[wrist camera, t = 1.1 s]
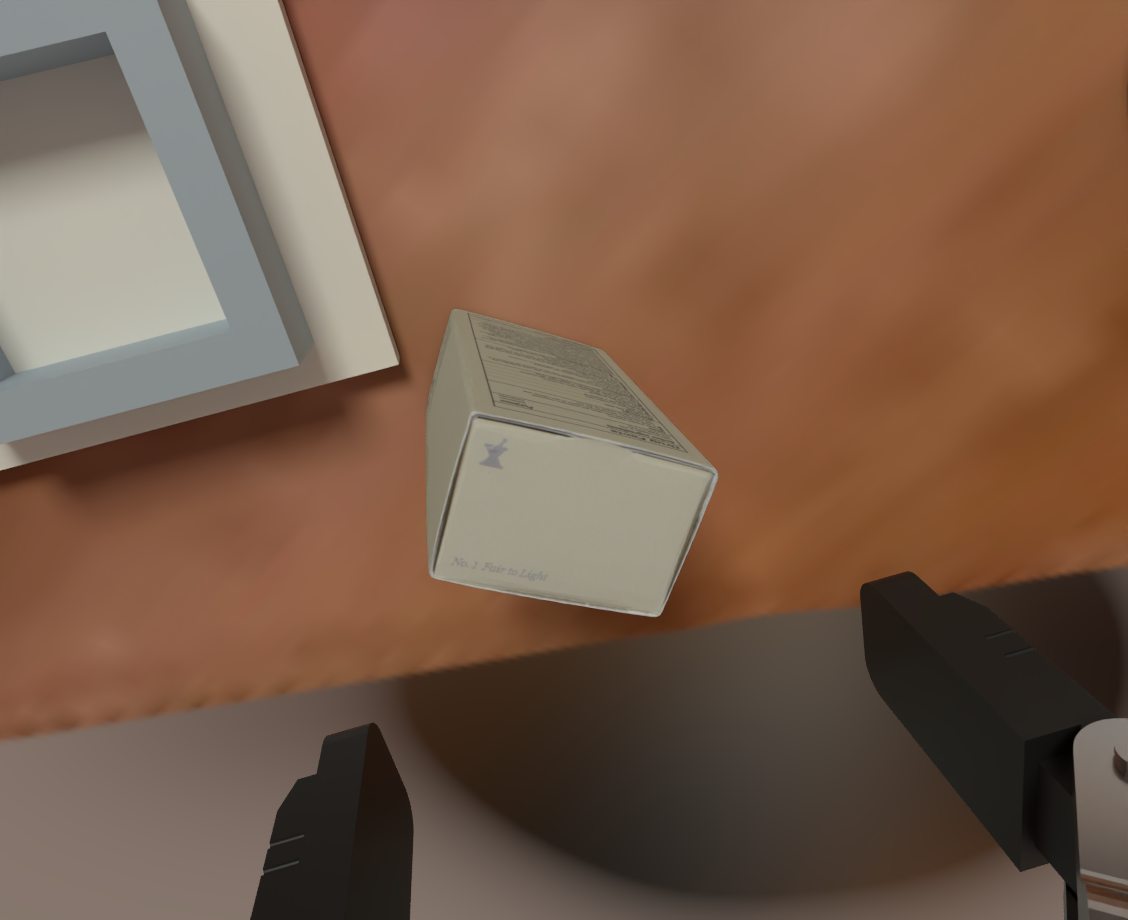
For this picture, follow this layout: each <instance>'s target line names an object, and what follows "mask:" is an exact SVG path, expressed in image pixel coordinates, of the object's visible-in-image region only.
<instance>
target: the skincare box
mask: <svg viewBox="0 0 1128 920" xmlns="http://www.w3.org/2000/svg"><path fill="white" fill-rule="evenodd" d="M425 416H426V510H427V546H428V571H429V574H430V576H431V577H432V578H435V579H438V580H443V581H447V582H452V583H456V584H462V585H466V586H470V587H475V588H480V589H486V590H491V591H496V592H501V593H508V594H514V595H519V596H524V597H529V598H535V599H540V600H549V601H555V602H560V603H564V604H572V605H578V606H584V607H590V608H595V609H603V610H610V611H615V612H621V613H628V614H634V615H641V616H649V617H658V616H659V615H660V614H661V613H662V611H663V609H664V607H665V604H666V602H667V600H668V597H669V595H670V593H671V590H672V588H673V586H674V584H675V581H676V579H677V577H678V574H679V572H680V570H681V567H682V565H683V563H684V560H685V558H686V556H687V554H688V551H689V549H690V546H691V544H692V541H693V539H694V537H695V534H696V532H697V530H698V527H699V525H700V523H701V520H702V518H703V515H704V512H705V510H706V507H707V505H708V502H709V500H710V498H711V495H712V493H713V490H714V488H715V485H716V483H717V480H718V472H717V471H716V469H715V468H714V467H713V466H712V464H711V463H710V462H709V461H708V460H707V459H706V458H705V457H704V456H703V455H702V454H701V453H700V452H699V451H698V450H697V449H696V448H695V447H694V445H693V444H692V443H691V442H690V441H689V440H688V439H687V438H686V437H685V436H684V435H683V434H682V433H681V432H680V431H679V430H678V429H677V428H676V427H675V426H674V425H673V423H672V422H671V421H670V420H669V419H668V418H667V417H666V416H665V415H664V414H663V413H662V412H661V411H660V410H659V409H658V408H657V407H656V406H655V405H654V403H653V402H652V401H651V400H650V399H649V398H648V397H647V396H646V395H645V394H644V393H643V392H642V391H641V390H640V389H639V388H638V387H637V386H636V384H635V383H634V382H633V381H632V380H631V379H630V378H629V377H628V376H627V375H626V374H625V373H624V372H623V371H622V370H621V369H620V368H619V366H618V365H617V364H616V363H615V362H614V361H613V360H612V359H611V358H610V357H609V356H608V355H607V354H606V353H605V351H603V350H601V349H598V348H595V347H592V346H589V345H585V344H582V343H579V342H576V341H572V340H569V339H566V338H562V337H559V336H556V335H552V334H549V333H545V332H542V331H539V330H535V329H531V328H528V327H524V326H520V325H517V324H514V323H510V322H506V321H502V320H499V319H495V318H492V317H488V316H484V315H480V314H476V313H472V312H468V311H464V310H460V309H453V310H452V311H451V314H450V317H449V321H448V324H447V328H446V331H445V335H444V338H443V342H442V346H441V349H440V353H439V357H438V361H437V365H436V368H435V372H434V376H433V380H432V384H431V389H430V393H429V398H428V402H427V407H426V412H425Z"/></svg>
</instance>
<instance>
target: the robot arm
mask: <svg viewBox="0 0 1128 920" xmlns="http://www.w3.org/2000/svg"><path fill="white" fill-rule="evenodd" d="M860 600H861V612H862V625H863V637H864V649H865V660H866V665H867V669H868V672H869V674H870V677H871V680H872V682H873V684H874V686H875V688H876V690H877V692H878V693H879V695H880V696H881V698H882V699H883V700H884V701H885V703H886V704H887V705H888V706H889V708H890V709H891V710H892V711H893V713H894V714H895V715H896V716H897V718H898V719H899V720H900V721H901V723H902V724H903V725H904V727H905V728H906V729H907V730H908V731H909V733H910V734H911V735H912V737H913V738H914V739H915V740H916V742H917V743H918V744H919V745H920V747H921V748H922V749H923V750H924V752H925V753H926V754H927V755H928V757H929V758H930V759H931V760H932V762H933V763H934V764H935V765H936V766H937V768H938V769H939V770H940V772H941V773H942V774H943V775H944V777H945V778H946V779H947V780H948V782H949V783H950V784H951V785H952V787H953V788H954V789H955V790H956V792H957V793H958V794H959V796H960V797H961V798H962V799H963V801H964V802H965V803H966V804H967V805H968V807H969V808H970V809H971V811H972V812H973V813H974V814H975V816H976V817H977V818H978V819H979V821H980V822H981V823H982V824H983V825H984V827H985V828H986V829H987V831H988V832H989V833H990V834H991V836H992V837H993V838H994V839H995V840H996V842H997V843H998V844H999V846H1000V847H1001V848H1002V849H1003V850H1004V852H1005V853H1006V854H1007V856H1008V857H1009V858H1010V859H1011V861H1012V862H1013V863H1014V865H1015V866H1016V867H1017V868H1018V870H1019V871H1020V872H1022V871H1025V870H1028V869H1031V868H1035V867H1037V866H1041V865H1044V864H1048V863H1050V864H1051V865H1052V866H1053V868H1054V869H1055V870H1056V871H1057V872H1058V874H1059V875H1060V876H1061V877H1062V878H1063V879H1064V893H1063V900H1064V920H1128V719H1126V718H1120V719H1119V718H1118V717H1116V716H1115V715H1114V714H1113V713H1112V712H1110V711H1109V710H1108V709H1107V708H1106V707H1104V706H1103V705H1102V704H1101V703H1100V702H1098V701H1097V700H1096V699H1095V698H1094V697H1093V696H1092V695H1090V694H1089V693H1088V692H1087V691H1086V690H1084V689H1083V688H1082V687H1081V686H1079V684H1077V683H1076V682H1075V681H1074V680H1073V679H1071V678H1070V677H1069V676H1068V675H1067V674H1066V673H1064V672H1063V671H1062V670H1061V669H1059V668H1058V667H1057V666H1056V665H1055V664H1054V663H1052V662H1051V661H1050V660H1049V659H1048V658H1047V657H1045V656H1044V655H1043V654H1042V653H1041V652H1039V651H1038V650H1037V651H1035V650H1034V649H1033V646H1032V645H1031V644H1030V643H1029V642H1028V641H1026V640H1025V639H1024V638H1023V637H1022V636H1020V635H1019V634H1018V633H1014V632H1013V631H1012V628H1011V627H1010V626H1008V625H1007V624H1006V623H1005V622H1004V621H1003V620H1002V619H1000V618H999V617H998V616H997V615H996V614H994V613H993V612H992V611H991V610H990V609H989V608H987V607H985V606H983V605H981V604H978V603H976V602H974V601H972V600H969V599H967V598H965V597H962V596H960V595H958V594H955V593H949V594H946V595H942V596H939V595H938V594H937V593H935V592H934V591H933V590H932V589H931V588H930V587H929V586H928V585H927V584H925V583H924V582H923V581H922V580H921V579H920V578H919V577H918V576H917V575H915V574H914V573H912V572H909V571H907V572H903V573H899V574H896V575H892V576H889V577H885V578H882V579H879V580H875V581H872V582H868V583H865V584H863V585H862V587H861V590H860ZM412 855H413V818H412V811H411V806H410V801H409V798H408V794H407V792H406V789H405V786H404V784H403V782H402V780H401V777H400V775H399V773H398V770H397V768H396V766H395V763H394V761H393V759H392V756H391V754H390V752H389V750H388V747H387V745H386V743H385V740H384V738H383V736H382V733H381V731H380V729H379V728H378V726H377V725H376V724H375V723H370V724H366V725H363V726H359V727H355V728H352V729H349V730H345V731H342V732H338V733H335V734H331V735H328V736H326V737H325V739H324V741H323V745H322V750H321V755H320V760H319V765H318V770H317V774H315V775H312V776H308V777H305V778H301V779H298V780H297V782H296V783H295V785H294V786H293V788H292V789H291V791H290V792H289V794H288V795H287V797H286V799H285V800H284V802H283V803H282V805H281V806H280V808H279V809H278V811H277V815H276V819H275V823H274V827H273V832H272V835H271V839H270V849H268V851H267V855H266V859H265V863H264V867H263V871H264V875H263V876H261V879H260V883H259V887H258V891H257V895H256V899H255V903H254V907H253V911H252V915H251V919H250V920H410V902H411V879H412V857H413V856H412Z"/></svg>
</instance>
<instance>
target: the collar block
mask: <svg viewBox="0 0 1128 920" xmlns="http://www.w3.org/2000/svg"><path fill="white" fill-rule="evenodd" d="M399 361H400V356H399V352H398V349H397V346H396V343H395V340H394V337H393V334H392V331H391V328H390V325H389V322H388V319H387V316H386V313H385V310H384V307H383V304H382V301H381V298H380V295H379V292H378V289H377V286H376V283H375V280H374V277H373V274H372V271H371V268H370V265H369V262H368V259H367V256H366V253H365V250H364V247H363V244H362V241H361V238H360V235H359V232H358V228H357V225H356V222H355V219H354V216H353V213H352V210H351V207H350V204H349V201H348V198H347V195H346V192H345V189H344V186H343V183H342V180H341V177H340V174H339V171H338V168H337V165H336V162H335V159H334V156H333V153H332V150H331V147H330V144H329V141H328V138H327V135H326V132H325V129H324V126H323V123H322V120H321V117H320V114H319V111H318V108H317V104H316V101H315V98H314V95H313V92H312V89H311V86H310V83H309V80H308V77H307V74H306V71H305V68H304V65H303V62H302V59H301V56H300V53H299V50H298V47H297V44H296V41H295V38H294V35H293V32H292V29H291V26H290V23H289V20H288V17H287V14H286V11H285V8H284V5H283V2H282V0H0V470H4V469H8V468H12V467H15V466H19V465H23V464H27V463H30V462H34V461H38V460H42V459H45V458H49V457H53V456H57V455H61V454H64V453H68V452H72V451H76V450H79V449H83V448H87V447H91V446H94V445H98V444H102V443H106V442H109V441H113V440H117V439H121V438H125V437H128V436H132V435H136V434H140V433H143V432H147V431H151V430H155V429H158V428H162V427H166V426H170V425H173V424H177V423H181V422H185V421H188V420H192V419H196V418H200V417H204V416H207V415H211V414H215V413H219V412H222V411H226V410H230V409H234V408H237V407H241V406H245V405H249V404H252V403H256V402H260V401H264V400H268V399H271V398H275V397H279V396H283V395H286V394H290V393H294V392H298V391H301V390H305V389H309V388H313V387H316V386H320V385H324V384H328V383H332V382H335V381H339V380H343V379H347V378H350V377H354V376H358V375H362V374H365V373H369V372H373V371H377V370H380V369H384V368H388V367H392V366H395V365H399Z"/></svg>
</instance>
